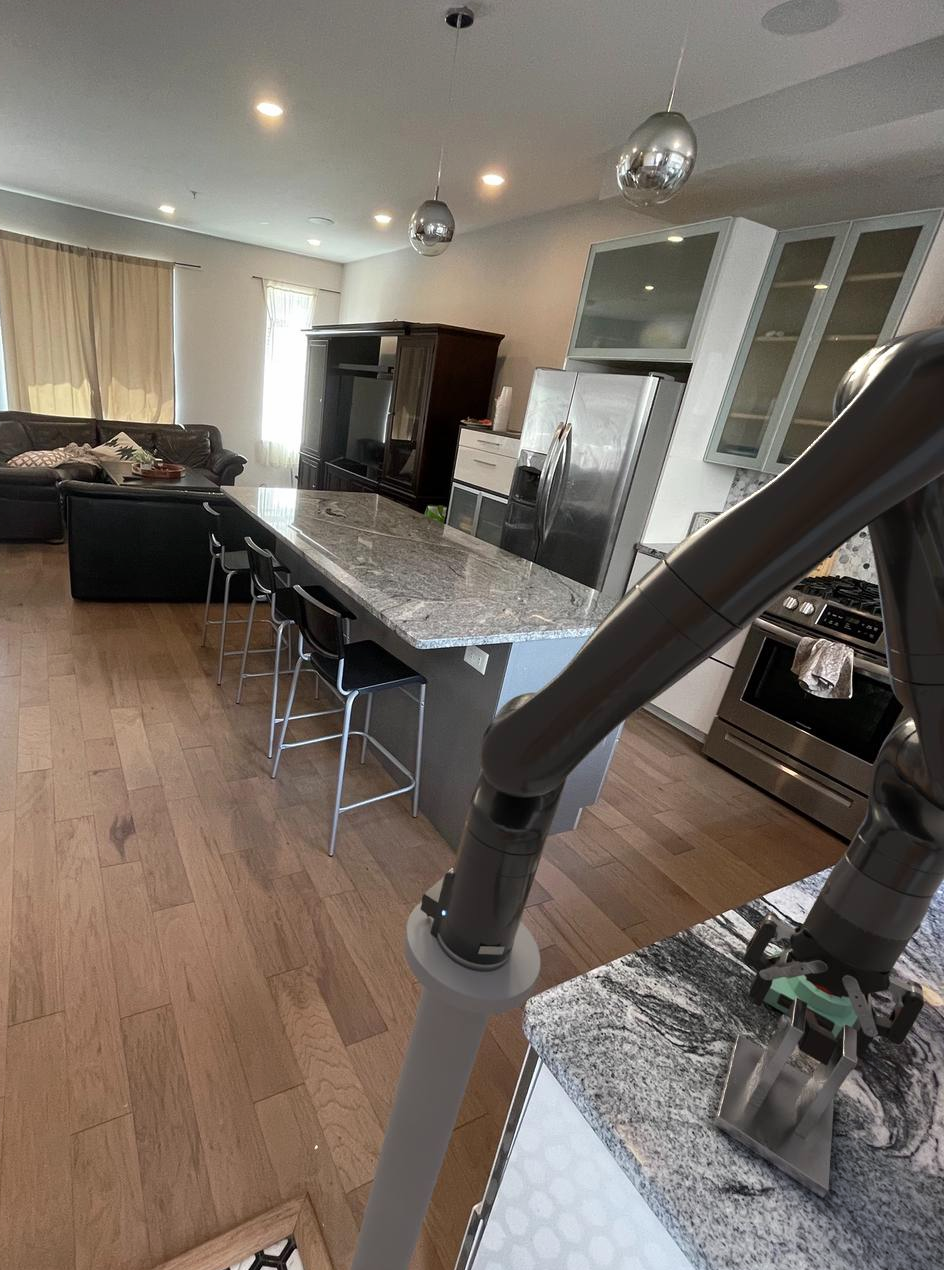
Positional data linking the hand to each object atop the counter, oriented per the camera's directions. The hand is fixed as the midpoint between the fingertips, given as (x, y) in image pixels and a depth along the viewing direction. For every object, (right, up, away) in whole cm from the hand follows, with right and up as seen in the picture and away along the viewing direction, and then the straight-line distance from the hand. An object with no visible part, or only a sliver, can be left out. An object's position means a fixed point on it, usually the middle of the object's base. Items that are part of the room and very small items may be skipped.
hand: (799, 1024), depth 67 cm
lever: (-3, +2, -5) cm, 6 cm away
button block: (+7, -2, +8) cm, 11 cm away
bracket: (-6, -6, -5) cm, 10 cm away
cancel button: (+8, +1, +7) cm, 10 cm away
